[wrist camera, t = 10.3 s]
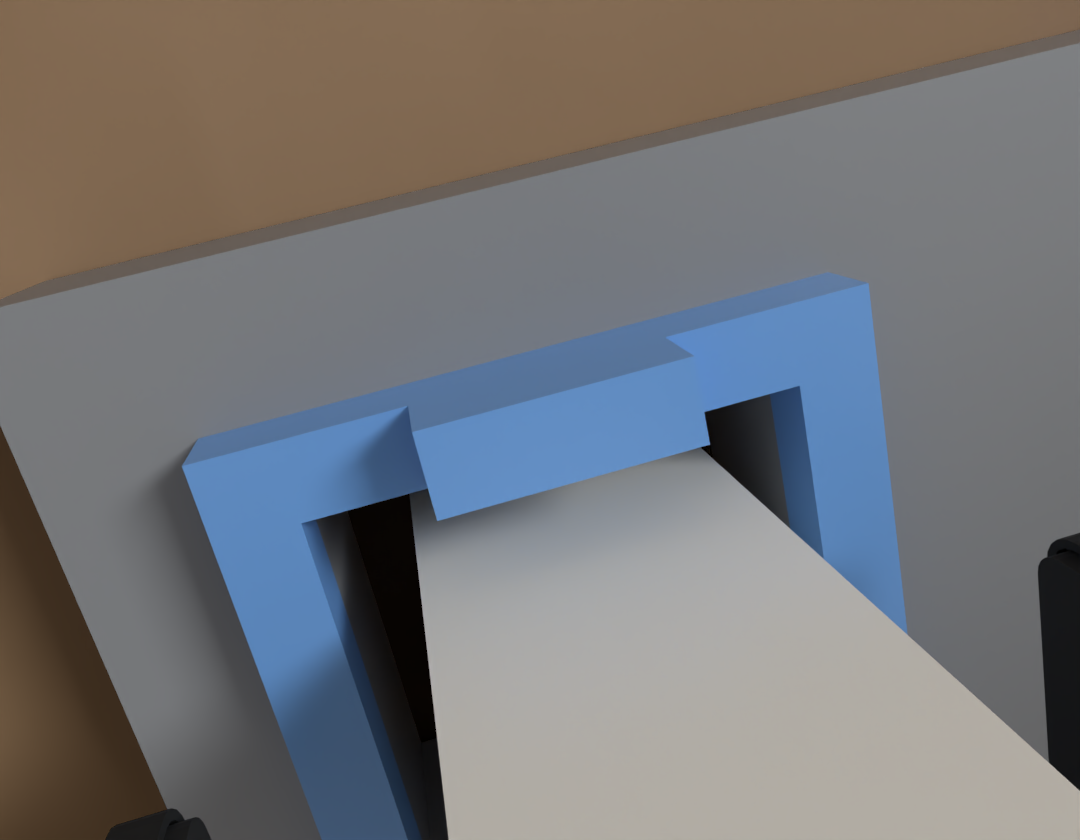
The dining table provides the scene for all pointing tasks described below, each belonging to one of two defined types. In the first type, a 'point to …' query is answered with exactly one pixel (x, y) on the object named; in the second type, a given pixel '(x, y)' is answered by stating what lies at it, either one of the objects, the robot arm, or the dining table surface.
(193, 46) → the dining table surface
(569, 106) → the dining table surface
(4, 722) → the dining table surface
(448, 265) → the gray peg hole board
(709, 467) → the grey square peg
